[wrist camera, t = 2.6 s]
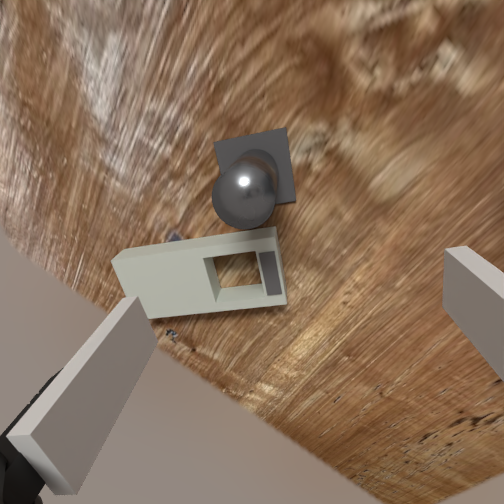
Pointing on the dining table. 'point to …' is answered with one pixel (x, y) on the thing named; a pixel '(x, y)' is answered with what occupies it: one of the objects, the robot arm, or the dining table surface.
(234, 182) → the barrel peg
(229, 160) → the mat
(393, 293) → the dining table surface
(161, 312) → the slotted holder block
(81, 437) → the robot arm
